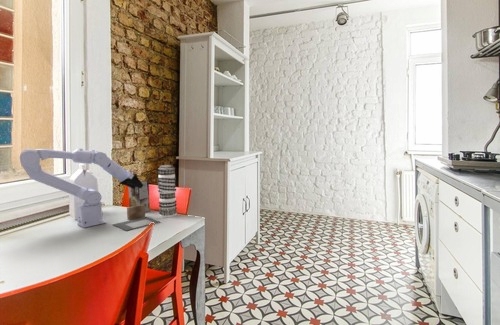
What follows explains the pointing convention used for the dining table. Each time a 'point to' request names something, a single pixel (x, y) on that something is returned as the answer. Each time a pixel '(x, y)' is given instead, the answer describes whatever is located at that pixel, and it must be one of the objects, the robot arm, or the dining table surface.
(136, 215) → the walnut slab
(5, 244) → the dining table surface
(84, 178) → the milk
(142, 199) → the coffee box
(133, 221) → the charcoal mat
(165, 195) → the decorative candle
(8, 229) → the dining table surface
